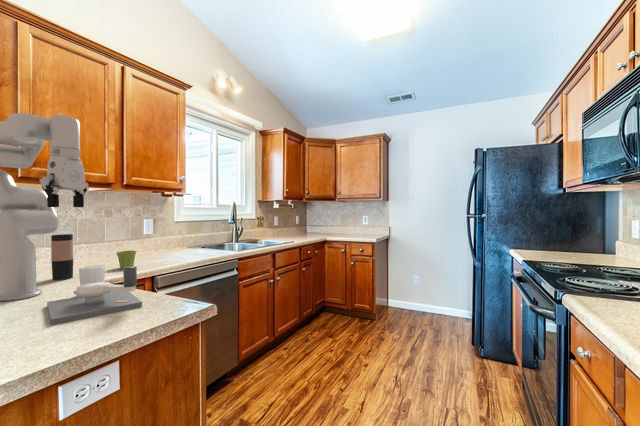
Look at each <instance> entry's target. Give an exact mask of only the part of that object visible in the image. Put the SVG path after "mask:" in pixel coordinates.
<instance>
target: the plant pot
mask: <svg viewBox="0 0 640 426" xmlns="http://www.w3.org/2000/svg"><path fill="white" fill-rule="evenodd" d="M115 253H116V255H117V257H118V263H119V268H120V269H122V270H123V268H124V267H129V266H135V258H136V254H137V250H123V251H122V250H121V251H117V252H115Z"/></svg>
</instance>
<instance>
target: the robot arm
mask: <svg viewBox="0 0 640 426" xmlns="http://www.w3.org/2000/svg"><path fill="white" fill-rule="evenodd" d="M80 131H81V124H80V121H79V120H78V119H77V118H75V117H72V116H69V115H61V114H56V115H52V116H50V118H49V117H44V116H41V115H36V114H32V113H26V112H24V113H23V112H18V113H11V114H9V116H8V117H7V118H6V120H3V121H2V120H0V167H3V168H14V169H27V168H29V167H30V166H32V165H33V163H34V162H35V161H36V159H37V157H38V155H39V154H40V153H41V151H42V149H43V147H44V146H45V143H46V141H47V142H49V145H50V146H49V154H50V155H49V156H50V157H49V158H48V161H47V162H48V163H47V169H46V170H47V171H46V174H47V175H46V176H44V177H41V178H39V183H40V185H41V188H42V189H40V188H34V187H21V186H18V185H17V184H16V183H15V180H14V178H13V177H12V176H11V175H10V174H9V173H8V172H7V171H6V170H3V169H2V168H0V302H6V301H10V302H11V301H16V300H18V301H19V300H23V299H28V298H29V299H30V298H32V297H36V296H38V295H41V294H42V292H43V289H41V288H37V262H36V261H37V260H36V259H37V258H36V257H37V255H36V250H37V249H36V246H35V243H34V242H33V241H32V240H31V239H30V238H29V237H28V236H33V235H45V234H52V233H55V232H56V231H57V230H58V228H59V226H60V220H59V217H58V214H57V211H56V210H55V208H59V206H60V194H57V193H59V192H60V190H65V191H66V190H67V191H72V193H73V194H74V195H73V196H72V198H73V199H72V200H73V201H72V206H73V208H84V207H85V206H84V205H85V203H84V202H85V201H84V200H85V199H84V198H85V197H84V196H86V193H87V191H88V190H87V189H88V187H89V183H88V182H86V176H85V168H84V165H83V161H82V160H81V132H80Z"/></svg>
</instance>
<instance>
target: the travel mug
mask: <svg viewBox="0 0 640 426" xmlns="http://www.w3.org/2000/svg"><path fill="white" fill-rule="evenodd" d="M50 237H51V239H50V240H51V244H50V245H51V246H50V247H51V251H50V256H51V258H50V259H51V260H50V261H51V262H50V263H51V275H52V277H51V278H52V281H64V280H69V279H72V278H74V238H73V234H71V233H70V234H69V233H68V234H67V233H66V234H63V233H62V234H52V235H51V236H50Z"/></svg>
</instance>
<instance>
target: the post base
mask: <svg viewBox="0 0 640 426" xmlns="http://www.w3.org/2000/svg"><path fill="white" fill-rule="evenodd" d="M46 303H47V304H46V307H47V312H48V317H49V321H50V325H51V326H53V325H57V323H58V324H62V323H68V322H72V321H77V320H82V319H86V318H87V319H88V318H90V317H96V316H100V315H101V316H102V315H106V314H112V313H116V312H121V311H126V310H131V309H136V308H140V307H141V308H142V307H143V302H142V301H141V300H140V299H139V298H138V297H136V296H135V295H134V294H133V293H132V292H131V291H111V292H110V293H107V294H104V295H100V296H94V297H77V296H76V297H68V298H62V299H58V300H51V301H47V302H46ZM52 324H53V325H52Z"/></svg>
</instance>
